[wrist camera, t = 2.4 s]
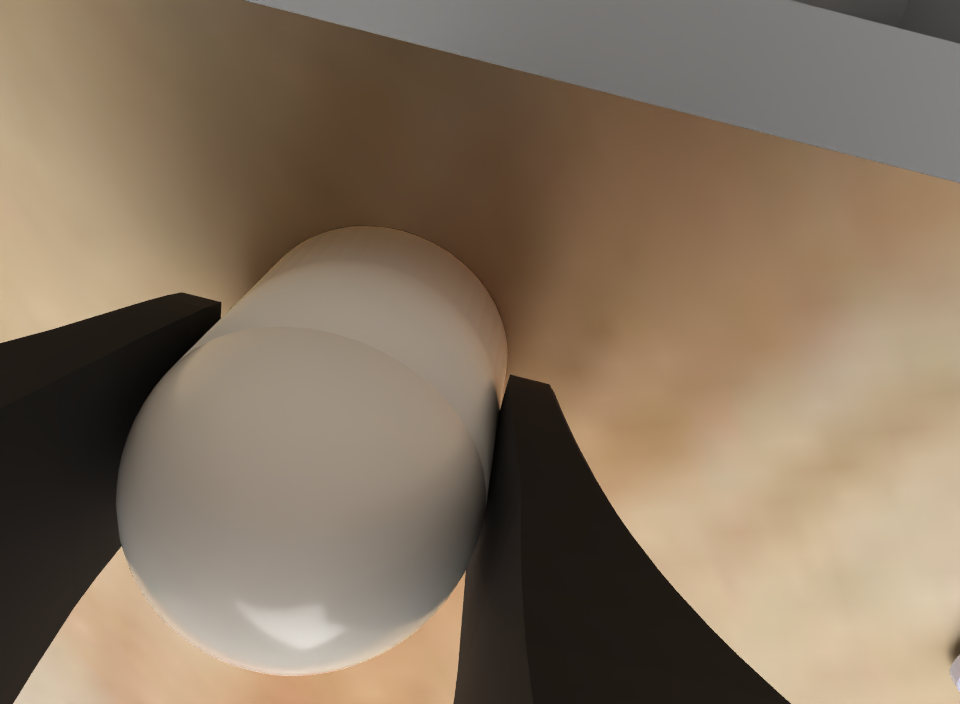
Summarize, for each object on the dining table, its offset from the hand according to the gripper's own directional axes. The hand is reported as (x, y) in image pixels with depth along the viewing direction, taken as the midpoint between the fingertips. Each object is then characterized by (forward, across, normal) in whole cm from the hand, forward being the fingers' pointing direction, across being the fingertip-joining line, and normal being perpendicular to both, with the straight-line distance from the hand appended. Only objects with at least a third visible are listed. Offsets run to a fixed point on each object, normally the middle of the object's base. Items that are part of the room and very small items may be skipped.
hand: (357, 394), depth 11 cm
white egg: (+1, 0, 0) cm, 1 cm away
